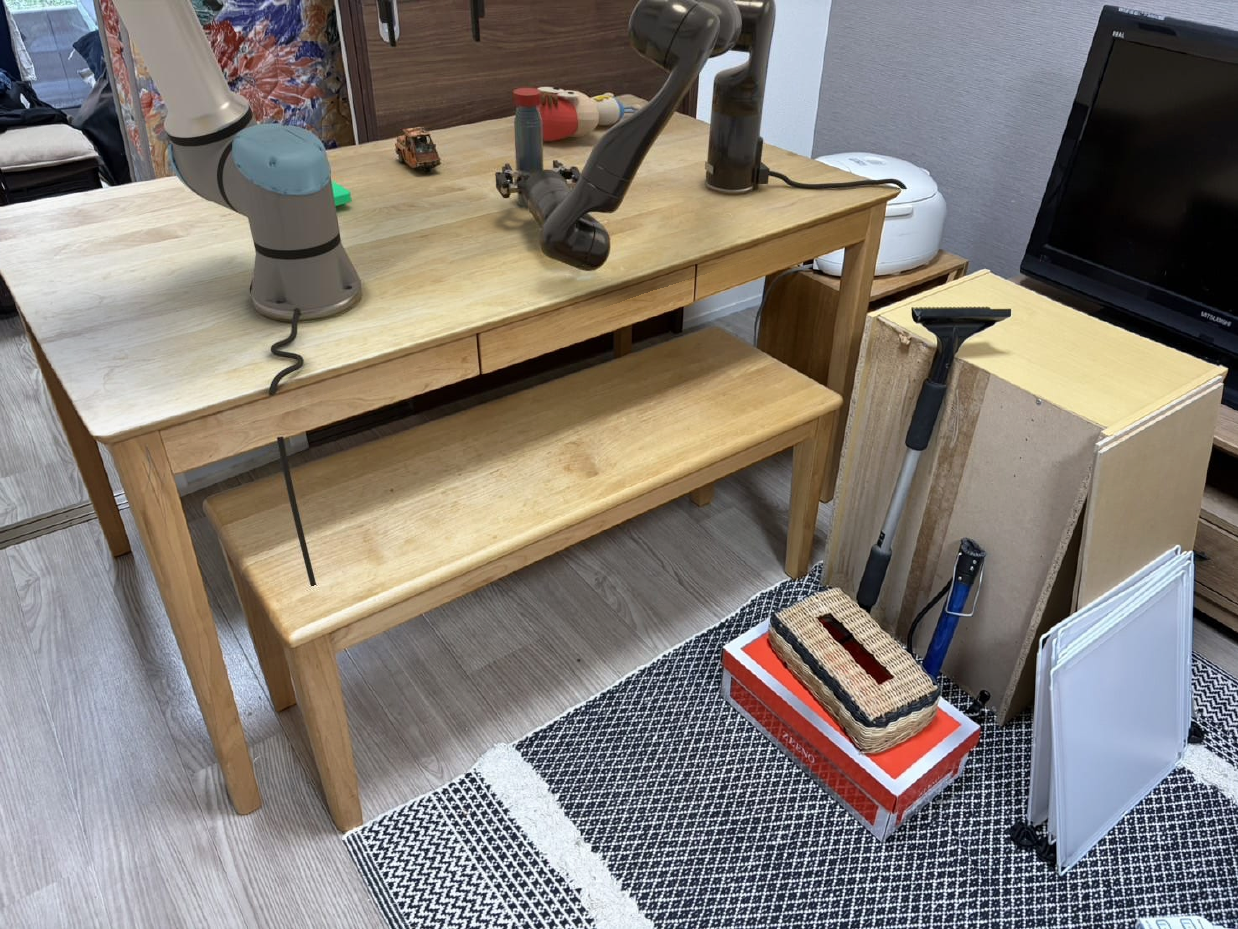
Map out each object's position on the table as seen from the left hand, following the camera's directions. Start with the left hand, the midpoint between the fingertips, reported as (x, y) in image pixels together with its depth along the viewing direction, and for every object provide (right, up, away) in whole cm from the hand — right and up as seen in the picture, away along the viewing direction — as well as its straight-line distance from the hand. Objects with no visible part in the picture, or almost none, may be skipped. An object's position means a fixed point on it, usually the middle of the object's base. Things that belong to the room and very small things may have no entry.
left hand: (435, 42), depth 150 cm
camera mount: (-23, -22, +14) cm, 35 cm away
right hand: (+14, -16, +12) cm, 25 cm away
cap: (+14, -6, +5) cm, 17 cm away
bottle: (+14, -21, +17) cm, 30 cm away
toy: (+24, +4, +51) cm, 56 cm away
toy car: (-9, -10, +30) cm, 33 cm away
